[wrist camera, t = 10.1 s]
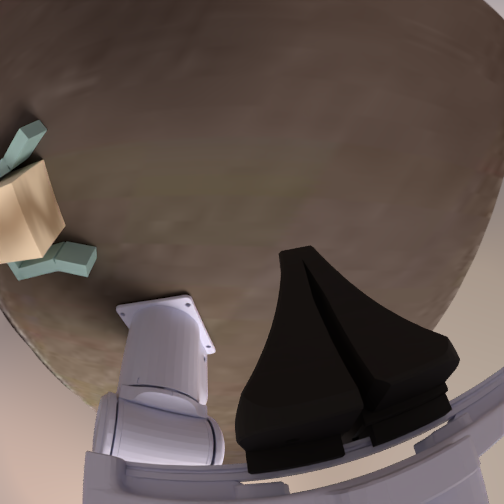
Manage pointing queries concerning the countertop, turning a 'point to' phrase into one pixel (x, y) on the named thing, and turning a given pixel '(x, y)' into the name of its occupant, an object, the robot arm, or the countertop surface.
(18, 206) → the birch block
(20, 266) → the dock
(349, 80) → the countertop surface
